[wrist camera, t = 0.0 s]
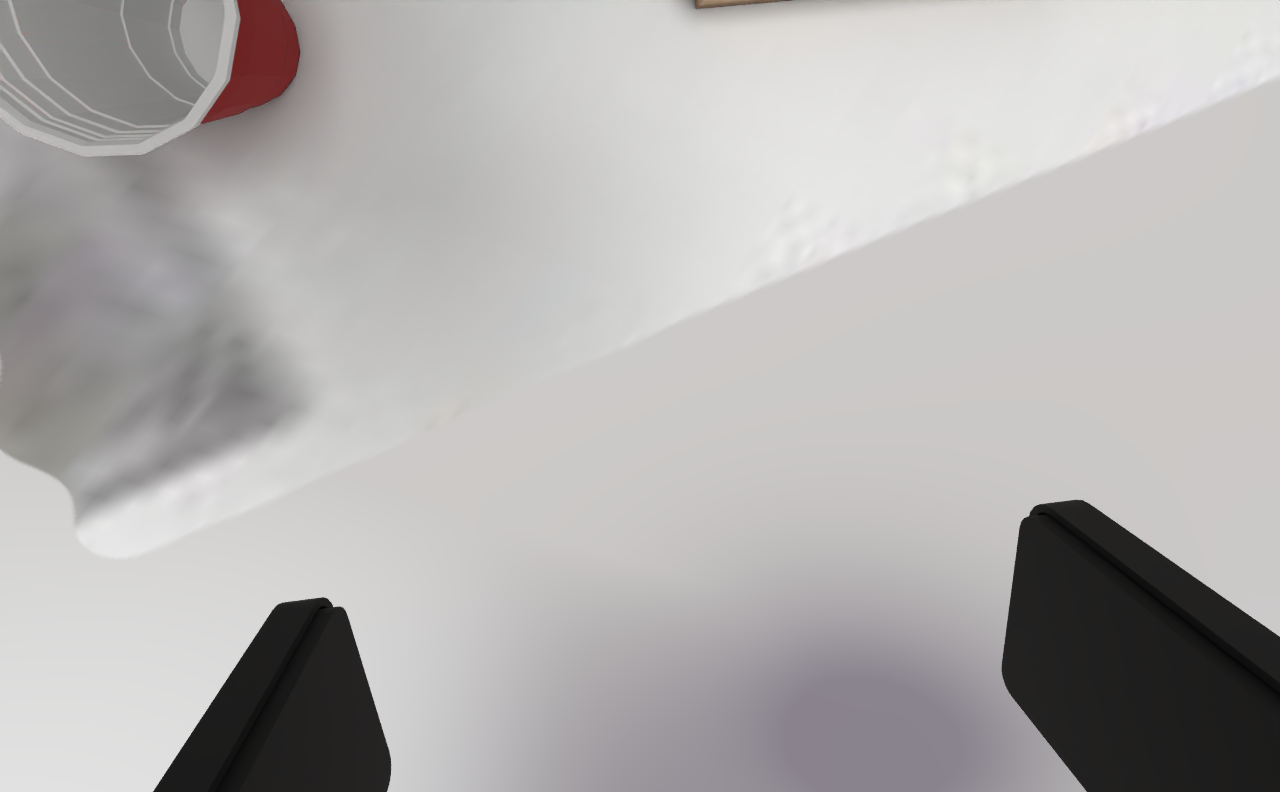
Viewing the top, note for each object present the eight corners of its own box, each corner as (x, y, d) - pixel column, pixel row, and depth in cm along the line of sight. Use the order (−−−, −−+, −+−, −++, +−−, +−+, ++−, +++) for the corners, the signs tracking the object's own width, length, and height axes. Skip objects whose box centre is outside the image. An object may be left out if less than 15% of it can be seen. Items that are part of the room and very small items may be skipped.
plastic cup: (161, -148, 30) (-86, -323, 19) (385, 0, 33) (287, -75, 22) (85, 75, 33) (-169, 39, 22) (298, 195, 36) (170, 218, 24)
